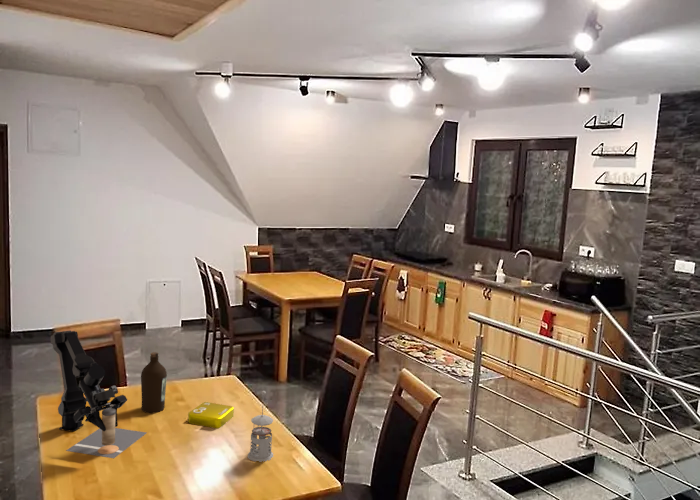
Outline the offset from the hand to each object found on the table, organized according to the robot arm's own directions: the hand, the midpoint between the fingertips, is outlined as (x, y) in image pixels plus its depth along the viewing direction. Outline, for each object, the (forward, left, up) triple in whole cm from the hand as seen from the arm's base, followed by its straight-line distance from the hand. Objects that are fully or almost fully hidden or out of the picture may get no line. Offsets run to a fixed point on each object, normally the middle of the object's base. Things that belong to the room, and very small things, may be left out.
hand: (111, 428), depth 205 cm
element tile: (+21, +40, -10) cm, 47 cm away
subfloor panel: (-5, +6, -10) cm, 13 cm away
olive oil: (-7, +43, -10) cm, 44 cm away
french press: (+51, +16, -10) cm, 54 cm away
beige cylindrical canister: (-1, +1, -6) cm, 6 cm away
